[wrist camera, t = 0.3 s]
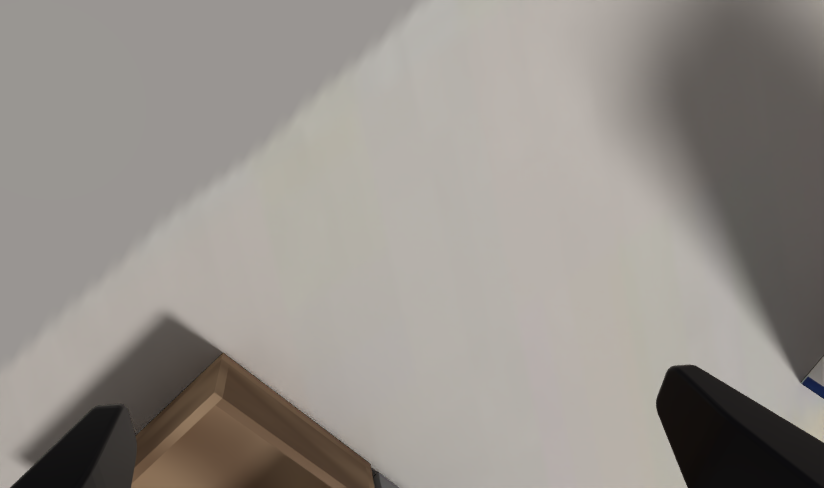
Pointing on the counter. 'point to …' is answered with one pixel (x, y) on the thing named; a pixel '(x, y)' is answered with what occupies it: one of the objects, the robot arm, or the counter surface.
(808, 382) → the blue cardboard box
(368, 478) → the walnut crate
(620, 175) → the counter surface
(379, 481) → the grey plastic crate
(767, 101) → the counter surface
